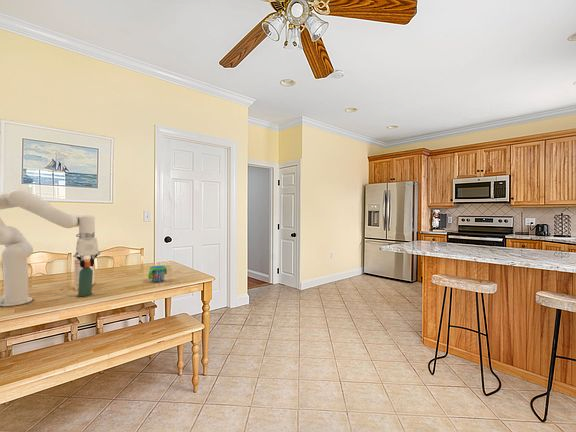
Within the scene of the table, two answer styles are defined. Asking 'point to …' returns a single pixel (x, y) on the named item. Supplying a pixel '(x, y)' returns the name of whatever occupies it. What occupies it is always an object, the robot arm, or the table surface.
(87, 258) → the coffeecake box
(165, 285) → the table surface
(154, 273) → the snack cup
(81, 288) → the bottle
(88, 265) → the cap
